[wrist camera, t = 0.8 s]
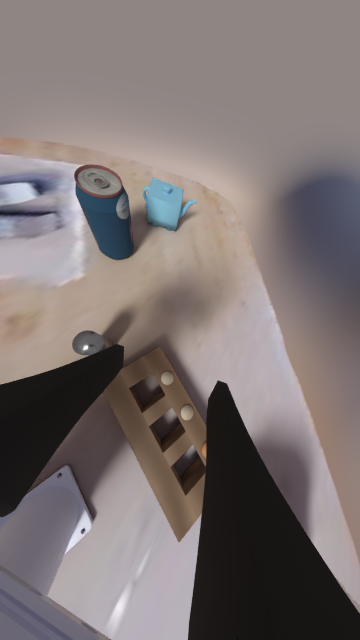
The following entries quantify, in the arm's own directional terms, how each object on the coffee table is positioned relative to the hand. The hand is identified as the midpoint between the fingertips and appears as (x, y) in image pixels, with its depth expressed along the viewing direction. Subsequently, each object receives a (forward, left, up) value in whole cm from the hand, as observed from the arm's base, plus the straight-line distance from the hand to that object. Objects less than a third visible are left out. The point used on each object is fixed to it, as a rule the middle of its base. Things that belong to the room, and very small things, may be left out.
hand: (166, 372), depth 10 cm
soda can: (+5, +25, -16) cm, 30 cm away
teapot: (+20, +29, -16) cm, 39 cm away
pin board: (-3, -9, -15) cm, 18 cm away
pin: (-6, +7, -15) cm, 18 cm away
